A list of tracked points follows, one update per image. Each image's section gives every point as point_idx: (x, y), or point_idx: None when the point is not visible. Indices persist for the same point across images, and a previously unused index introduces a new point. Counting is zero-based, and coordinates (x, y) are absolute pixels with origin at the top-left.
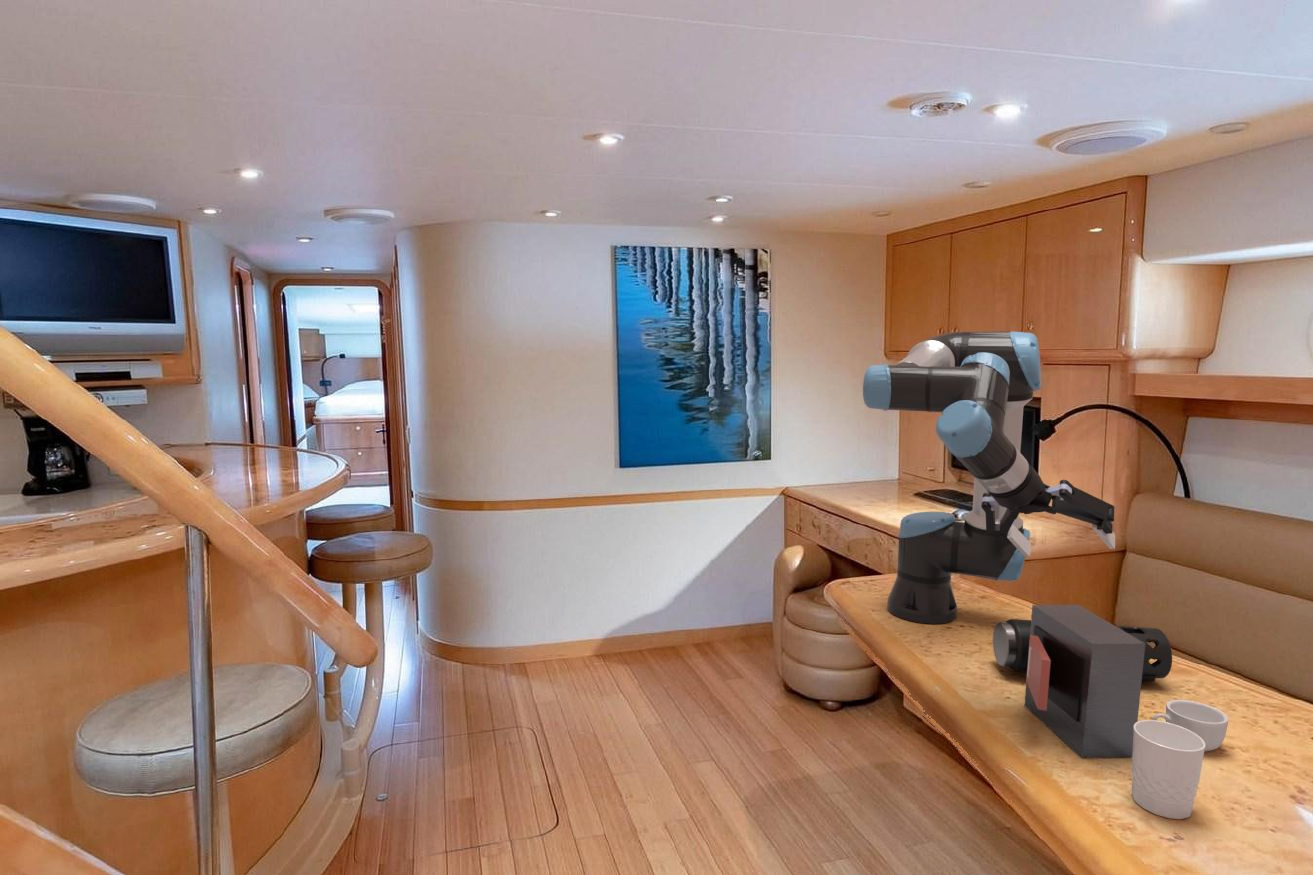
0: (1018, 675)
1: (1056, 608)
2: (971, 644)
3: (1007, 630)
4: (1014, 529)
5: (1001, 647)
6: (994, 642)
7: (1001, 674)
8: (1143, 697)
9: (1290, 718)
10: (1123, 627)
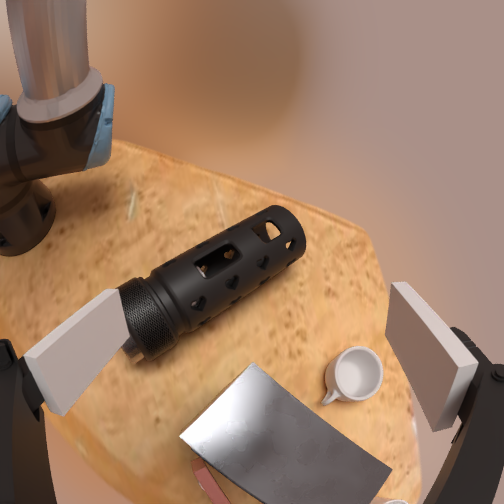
0: None
1: (226, 421)
2: (78, 280)
3: None
4: (53, 364)
5: None
6: None
7: None
8: (278, 304)
9: (371, 260)
10: (255, 225)
